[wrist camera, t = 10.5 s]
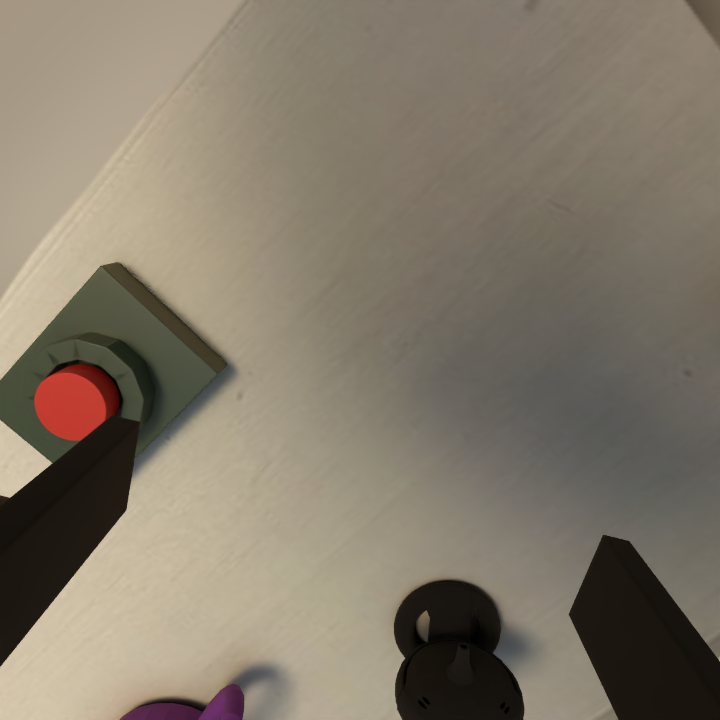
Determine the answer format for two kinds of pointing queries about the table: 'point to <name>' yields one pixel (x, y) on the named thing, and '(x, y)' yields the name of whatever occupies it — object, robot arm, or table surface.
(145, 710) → the mug
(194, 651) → the table surface
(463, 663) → the webcam
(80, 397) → the red button
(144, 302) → the button block
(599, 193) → the table surface
